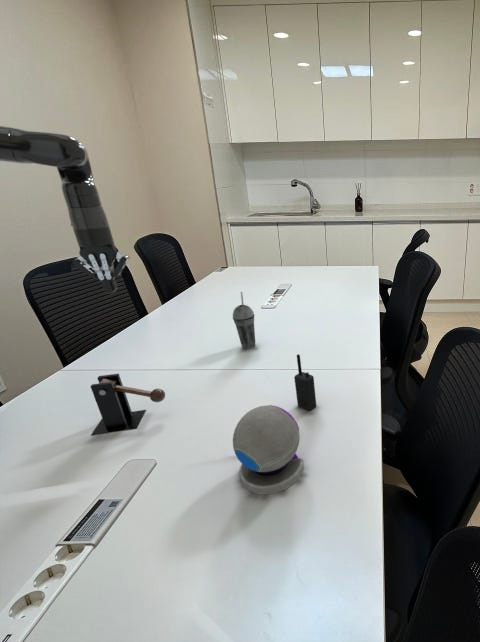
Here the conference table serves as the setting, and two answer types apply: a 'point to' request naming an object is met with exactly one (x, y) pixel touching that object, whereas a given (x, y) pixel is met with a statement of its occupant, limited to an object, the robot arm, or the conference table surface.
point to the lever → (139, 391)
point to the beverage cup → (245, 325)
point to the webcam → (267, 449)
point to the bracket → (114, 407)
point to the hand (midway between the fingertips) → (111, 292)
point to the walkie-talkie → (305, 389)
